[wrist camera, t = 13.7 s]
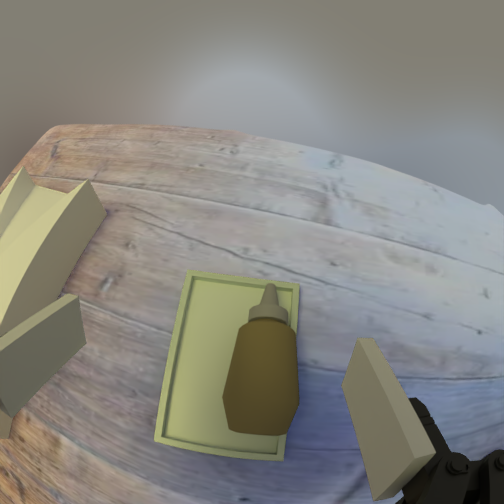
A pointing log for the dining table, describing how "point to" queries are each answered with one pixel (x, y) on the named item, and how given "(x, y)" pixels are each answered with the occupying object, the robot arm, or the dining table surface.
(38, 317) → the robot arm
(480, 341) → the dining table surface
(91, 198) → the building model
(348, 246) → the dining table surface
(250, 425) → the squeeze bottle
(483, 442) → the dining table surface
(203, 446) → the tray
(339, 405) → the dining table surface
